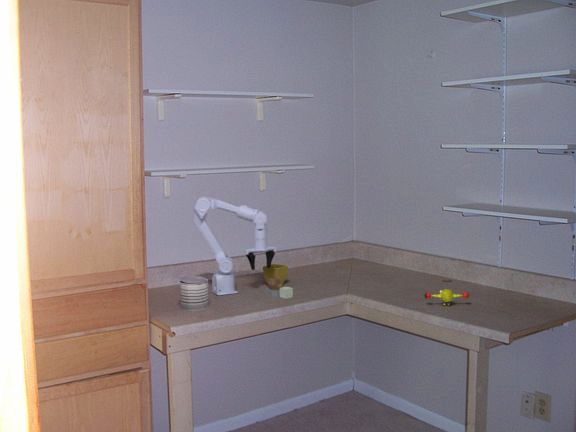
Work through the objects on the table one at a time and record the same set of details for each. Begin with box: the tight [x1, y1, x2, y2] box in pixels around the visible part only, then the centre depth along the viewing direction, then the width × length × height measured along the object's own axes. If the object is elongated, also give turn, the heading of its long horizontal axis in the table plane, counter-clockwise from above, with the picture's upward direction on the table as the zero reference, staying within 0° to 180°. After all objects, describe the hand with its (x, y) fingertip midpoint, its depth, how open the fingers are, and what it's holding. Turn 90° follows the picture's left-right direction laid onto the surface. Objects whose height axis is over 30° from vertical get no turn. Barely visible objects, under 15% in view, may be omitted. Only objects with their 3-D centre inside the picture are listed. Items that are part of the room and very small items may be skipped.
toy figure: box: [424, 288, 470, 307], centre depth 255 cm, size 18×6×7 cm, turn 90°
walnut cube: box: [267, 277, 283, 291], centre depth 275 cm, size 4×4×4 cm
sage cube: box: [279, 286, 294, 299], centre depth 272 cm, size 4×4×4 cm
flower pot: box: [262, 263, 289, 285], centre depth 294 cm, size 9×9×9 cm
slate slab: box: [264, 287, 280, 298], centre depth 276 cm, size 6×6×3 cm
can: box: [179, 275, 209, 312], centre depth 255 cm, size 11×11×12 cm
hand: (260, 268), depth 280 cm, fingers open, 7 cm apart
